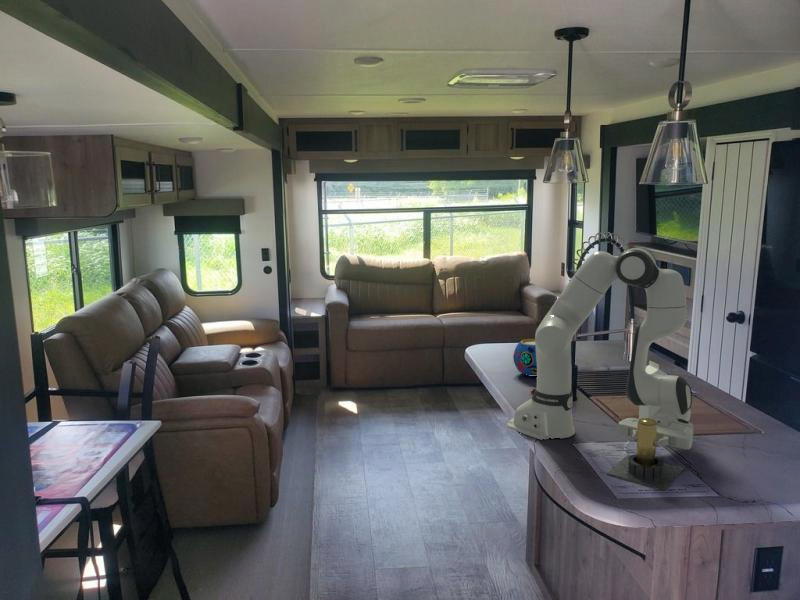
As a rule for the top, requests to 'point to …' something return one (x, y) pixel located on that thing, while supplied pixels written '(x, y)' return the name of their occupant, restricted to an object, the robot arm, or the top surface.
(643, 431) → the cylinder
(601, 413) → the top surface
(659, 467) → the square socket base
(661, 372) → the milk
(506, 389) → the top surface
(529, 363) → the ceramic pot
